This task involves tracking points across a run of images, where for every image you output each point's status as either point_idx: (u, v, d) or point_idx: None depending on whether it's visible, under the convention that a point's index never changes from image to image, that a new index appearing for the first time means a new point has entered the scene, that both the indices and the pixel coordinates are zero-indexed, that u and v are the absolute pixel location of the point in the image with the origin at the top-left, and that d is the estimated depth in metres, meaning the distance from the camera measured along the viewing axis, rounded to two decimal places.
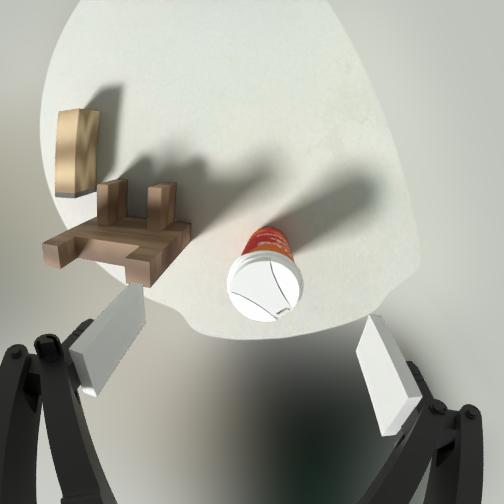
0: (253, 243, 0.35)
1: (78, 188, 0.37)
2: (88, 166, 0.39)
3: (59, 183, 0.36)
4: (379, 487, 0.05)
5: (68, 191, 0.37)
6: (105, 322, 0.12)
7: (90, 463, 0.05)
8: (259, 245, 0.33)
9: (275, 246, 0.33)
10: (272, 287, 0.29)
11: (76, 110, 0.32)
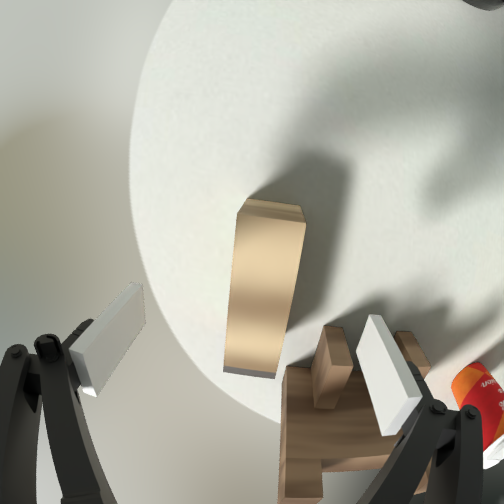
0: (492, 403, 0.21)
1: None
2: None
3: (237, 355, 0.23)
4: (379, 487, 0.05)
5: (260, 369, 0.23)
6: (105, 322, 0.12)
7: (90, 463, 0.05)
8: None
9: None
10: None
11: (298, 226, 0.18)
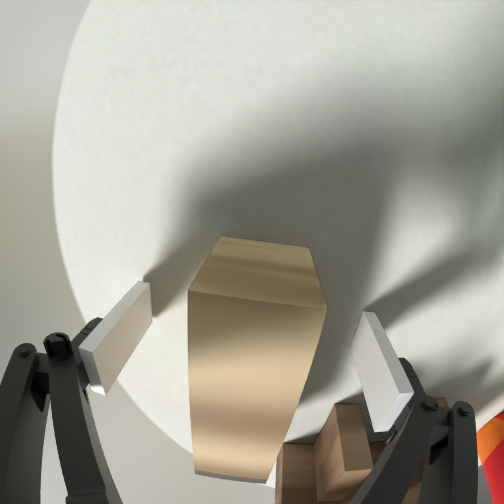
0: None
1: None
2: None
3: (212, 463, 0.13)
4: (372, 485, 0.06)
5: (245, 476, 0.13)
6: (114, 320, 0.12)
7: (97, 463, 0.05)
8: None
9: None
10: None
11: (311, 314, 0.09)
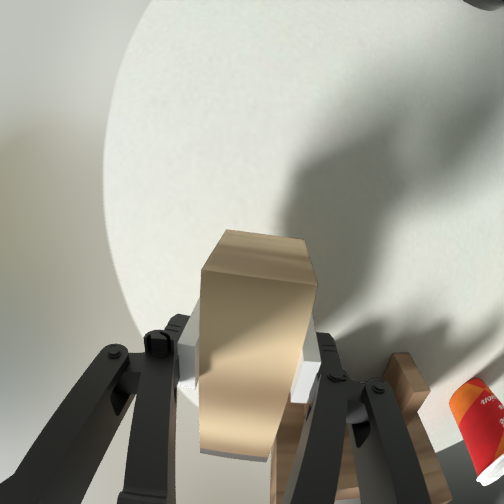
0: (493, 420, 0.19)
1: None
2: None
3: (216, 440, 0.15)
4: (300, 468, 0.06)
5: (247, 453, 0.15)
6: None
7: (167, 467, 0.06)
8: None
9: None
10: None
11: (304, 289, 0.11)
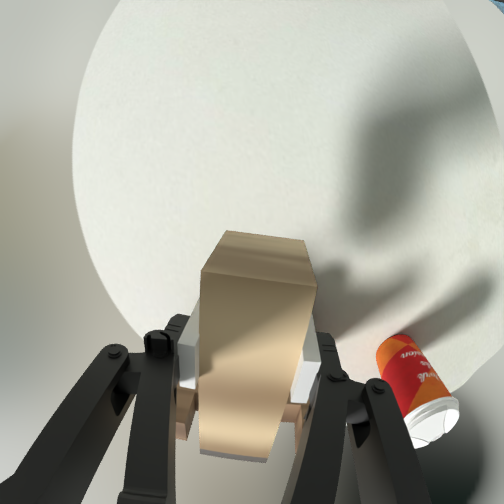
0: (410, 374, 0.27)
1: None
2: None
3: (216, 441, 0.15)
4: (300, 468, 0.06)
5: (247, 454, 0.15)
6: None
7: (167, 467, 0.06)
8: (422, 381, 0.25)
9: (435, 380, 0.24)
10: (439, 425, 0.21)
11: (303, 291, 0.11)
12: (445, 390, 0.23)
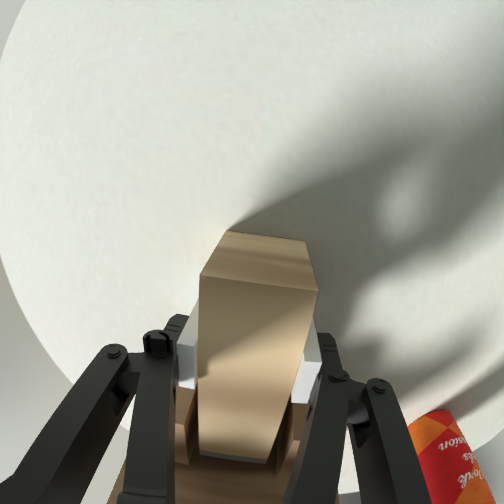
0: (449, 476, 0.13)
1: None
2: None
3: (216, 442, 0.15)
4: (301, 468, 0.06)
5: (247, 455, 0.15)
6: None
7: (166, 467, 0.06)
8: (464, 487, 0.11)
9: (479, 481, 0.11)
10: None
11: (304, 295, 0.11)
12: (488, 494, 0.09)
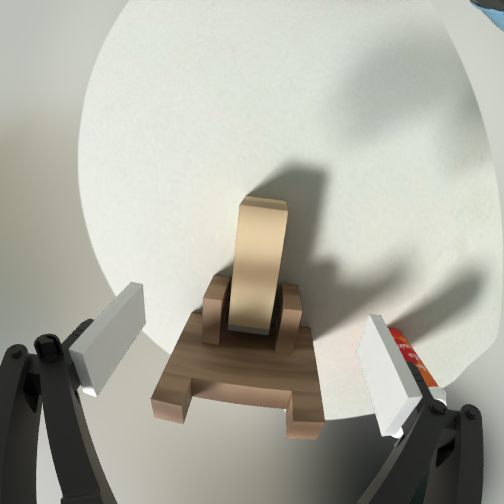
0: None
1: None
2: None
3: (239, 314, 0.30)
4: (379, 487, 0.05)
5: (257, 326, 0.31)
6: (105, 322, 0.12)
7: (90, 463, 0.05)
8: None
9: (423, 371, 0.27)
10: None
11: (282, 213, 0.26)
12: (432, 381, 0.25)
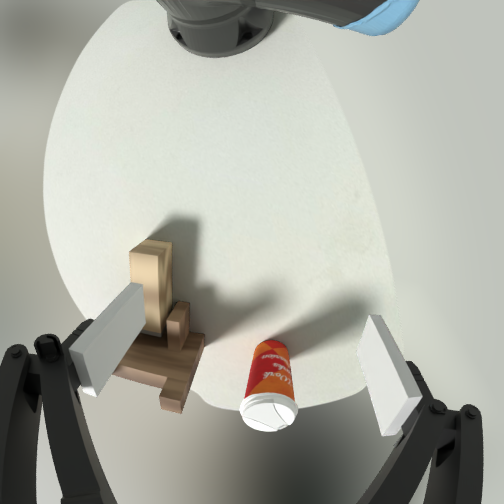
0: (259, 371, 0.40)
1: (162, 327, 0.43)
2: (167, 301, 0.44)
3: None
4: (379, 487, 0.05)
5: (152, 330, 0.42)
6: (105, 322, 0.12)
7: (90, 463, 0.05)
8: (264, 378, 0.38)
9: (277, 379, 0.38)
10: (274, 415, 0.35)
11: (154, 257, 0.38)
12: (281, 388, 0.36)
